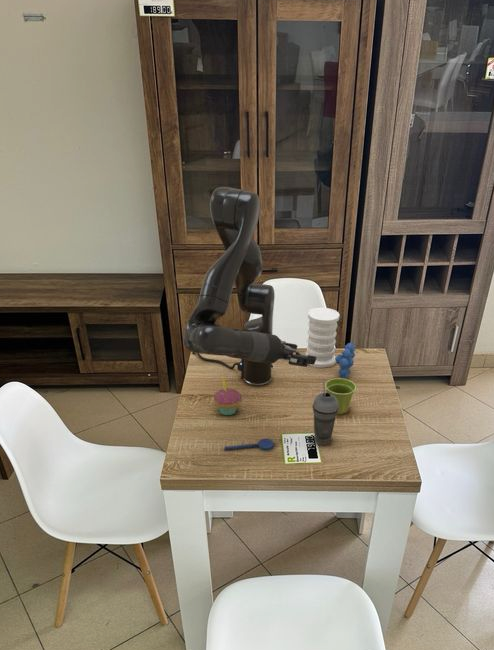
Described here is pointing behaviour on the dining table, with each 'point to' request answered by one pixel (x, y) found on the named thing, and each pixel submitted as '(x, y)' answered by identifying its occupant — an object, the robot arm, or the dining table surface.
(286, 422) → the dining table surface
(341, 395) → the plant pot
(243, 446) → the spoon
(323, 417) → the beverage cup
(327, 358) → the decorative container
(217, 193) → the robot arm
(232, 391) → the cupcake
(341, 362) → the grapes
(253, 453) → the dining table surface
